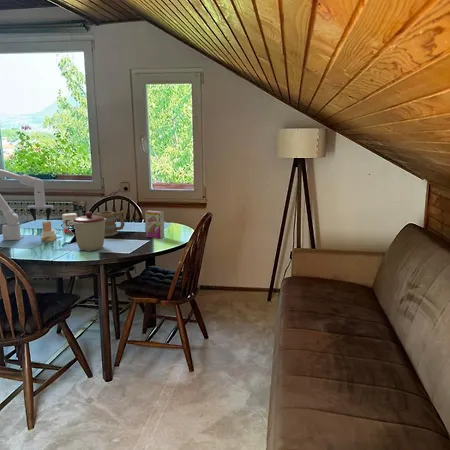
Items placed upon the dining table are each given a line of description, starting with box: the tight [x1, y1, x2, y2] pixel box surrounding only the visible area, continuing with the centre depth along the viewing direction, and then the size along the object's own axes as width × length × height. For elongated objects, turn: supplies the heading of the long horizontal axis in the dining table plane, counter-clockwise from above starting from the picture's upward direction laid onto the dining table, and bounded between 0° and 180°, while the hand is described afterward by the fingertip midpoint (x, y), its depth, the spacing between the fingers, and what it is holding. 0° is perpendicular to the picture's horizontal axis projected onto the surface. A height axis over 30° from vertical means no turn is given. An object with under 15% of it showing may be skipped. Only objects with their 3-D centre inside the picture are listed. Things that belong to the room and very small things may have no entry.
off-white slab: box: [41, 229, 56, 237], centre depth 256 cm, size 6×6×3 cm
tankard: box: [96, 209, 128, 237], centre depth 271 cm, size 20×13×15 cm, turn 114°
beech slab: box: [40, 233, 57, 242], centre depth 256 cm, size 7×7×3 cm
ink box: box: [61, 212, 78, 234], centre depth 277 cm, size 8×5×12 cm, turn 123°
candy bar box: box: [144, 210, 165, 240], centre depth 261 cm, size 11×5×16 cm, turn 65°
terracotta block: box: [42, 220, 53, 232], centre depth 255 cm, size 4×4×5 cm
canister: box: [72, 211, 106, 252], centre depth 234 cm, size 18×18×21 cm
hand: (41, 220), depth 262 cm, fingers open, 7 cm apart
